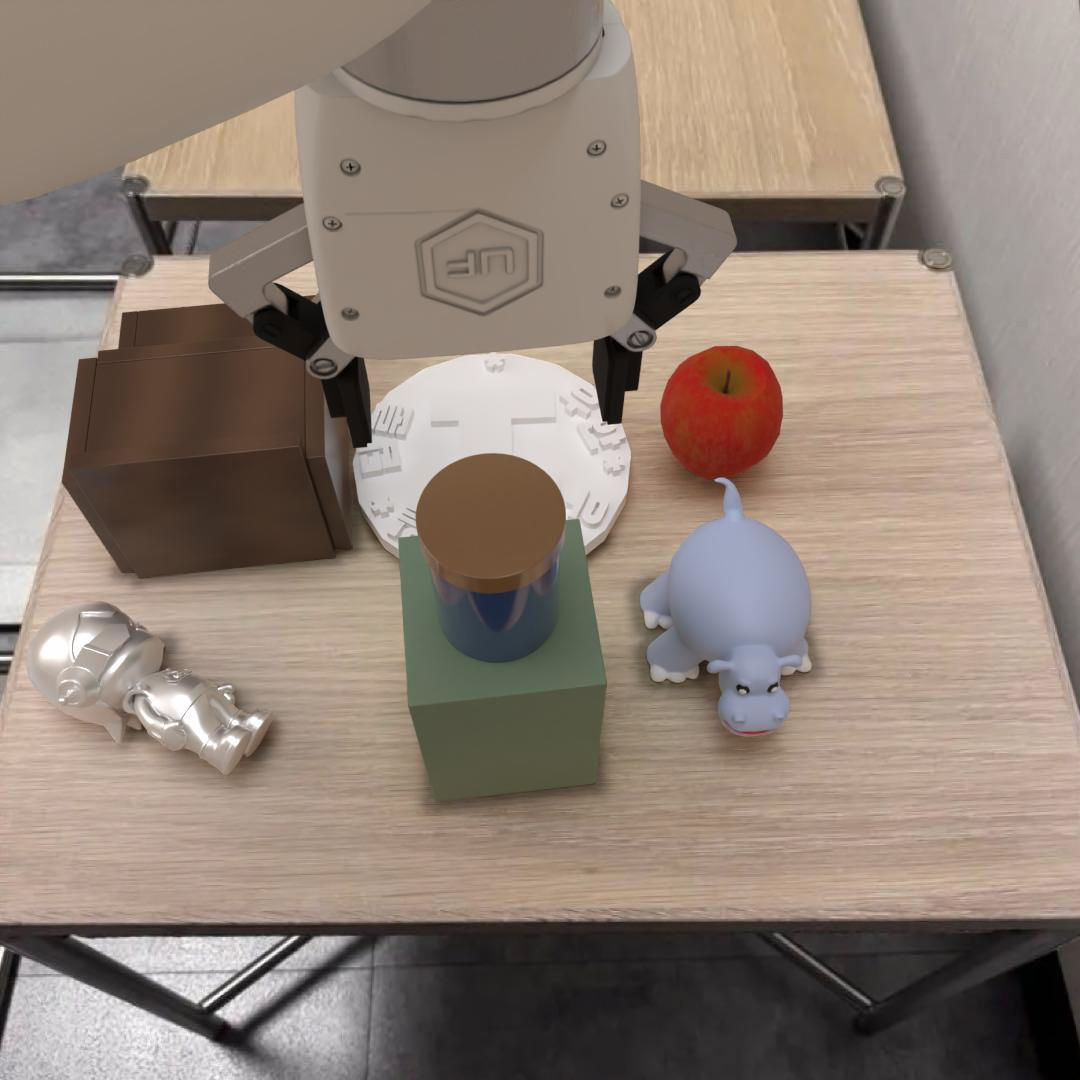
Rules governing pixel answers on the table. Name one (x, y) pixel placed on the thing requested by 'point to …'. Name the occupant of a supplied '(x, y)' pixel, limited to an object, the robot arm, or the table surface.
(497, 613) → the jar
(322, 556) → the wooden storage crate
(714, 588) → the hippopotamus toy
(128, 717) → the figurine
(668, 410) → the apple
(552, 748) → the stand
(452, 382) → the white round plaque
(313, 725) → the table surface
